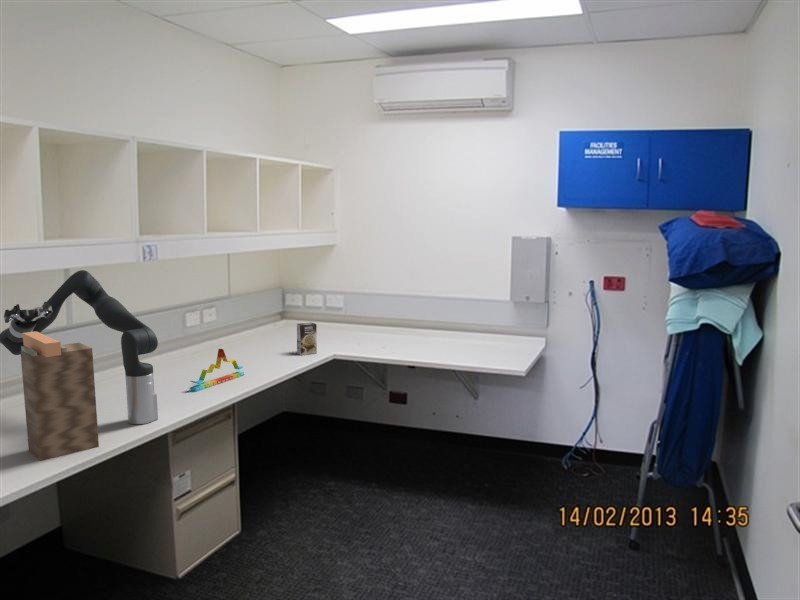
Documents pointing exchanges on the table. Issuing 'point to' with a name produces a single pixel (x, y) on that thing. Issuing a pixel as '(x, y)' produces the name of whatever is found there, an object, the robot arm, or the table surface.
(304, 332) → the coffee box
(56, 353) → the tan wooden block
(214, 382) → the chart
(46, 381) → the stand
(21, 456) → the table surface
